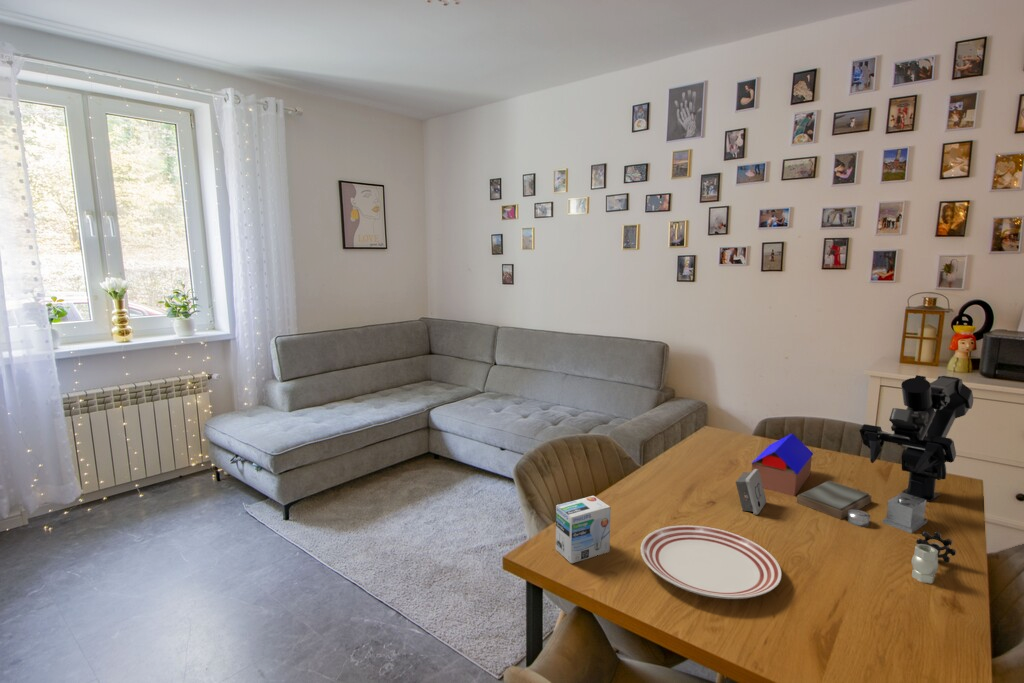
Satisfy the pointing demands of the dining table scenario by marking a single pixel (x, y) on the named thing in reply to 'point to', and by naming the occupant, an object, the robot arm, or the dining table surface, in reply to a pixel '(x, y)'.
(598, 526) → the white box
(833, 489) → the stand
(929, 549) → the valve
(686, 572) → the dinner plate
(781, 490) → the house
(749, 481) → the electrical switch
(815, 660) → the dining table surface
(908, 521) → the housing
